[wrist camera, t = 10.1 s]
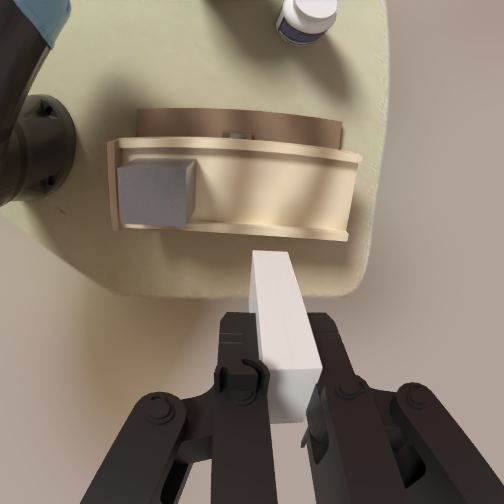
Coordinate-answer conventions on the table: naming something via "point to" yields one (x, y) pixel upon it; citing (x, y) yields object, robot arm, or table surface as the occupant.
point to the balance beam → (251, 185)
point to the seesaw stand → (238, 125)
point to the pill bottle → (305, 20)
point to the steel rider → (157, 191)
